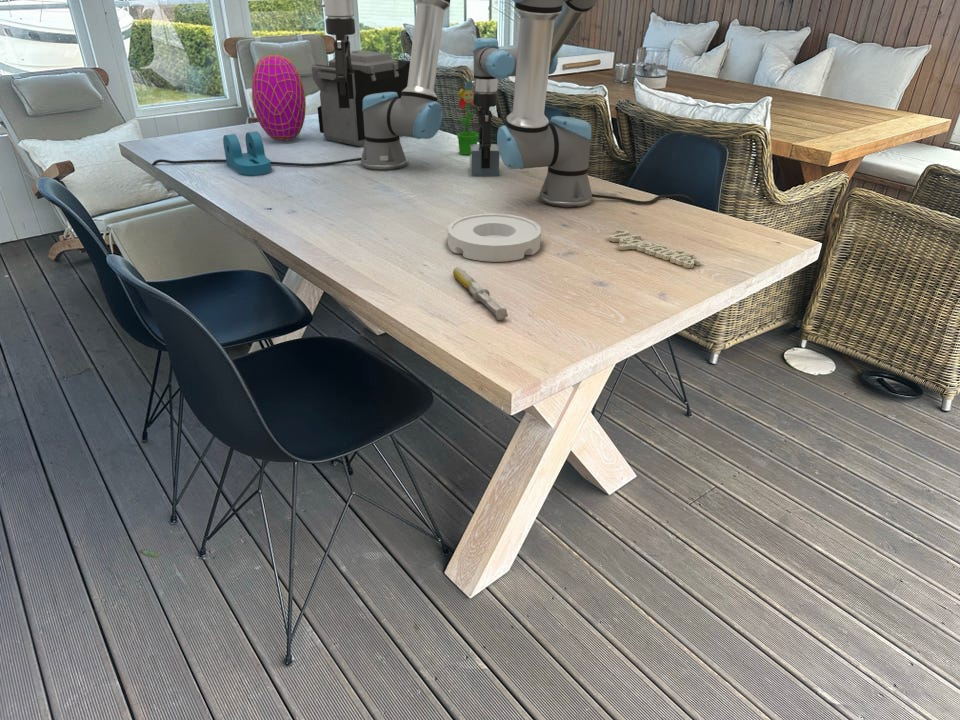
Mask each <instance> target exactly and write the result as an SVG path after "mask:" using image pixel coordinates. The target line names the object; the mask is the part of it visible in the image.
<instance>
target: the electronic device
mask: <svg viewBox="0 0 960 720" xmlns="http://www.w3.org/2000/svg"><path fill="white" fill-rule="evenodd" d="M350 56H351V64H352V69H354V73H350V74H352V80H353V93H354V99H349V104H350V108H339V99H338V88H337V82H334V78H336V66H335V57H334V58H332V59H330V60H328V65H324V64H311V75H312V79H313V81H314V83H315V85H316V87H318V89H319V91H320V92H319V100H320V106H317V117H318V127H319V133H320V134H323V137H324V139H325V140H328V141H332V142H337V143H342V144H346V145H351V146H356V147H364V145H365V132H364V119H363V111H362V109H363V98H364V97H365V96H367V95H371V94H376V93H384V92H396V93H397V94H398V98H401V94H402V91H403V90H404V89H405V88H406V87H407V84H408V76H409V67H410V60H403V59H396V58H395V59H394V58H392V56H391V54H390V53H387V52H378V51H369V50H362V49H359V50H352V51H350Z"/></svg>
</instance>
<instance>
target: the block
mask: <svg viewBox="0 0 960 720" xmlns="http://www.w3.org/2000/svg"><path fill="white" fill-rule="evenodd" d="M480 146H482V144H479V143H477V144H470V155H469V171H470V176H471V177H499V176H500V154H499V150H498V143H491V148H490V168H483V169H482V168H481V155H482V148H480Z"/></svg>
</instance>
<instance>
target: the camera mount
mask: <svg viewBox="0 0 960 720" xmlns="http://www.w3.org/2000/svg"><path fill="white" fill-rule="evenodd" d="M222 140H223V141H222V143H223V149H224V150H223V151H224V156H225V159H226V162H225V163H226V165H227V166H228V167H230V168H231V169H232V170H234V171H236V172H237V173H238V174H239V175H244V176H260V175H265V174H268V173H271V172H272V164H271V163H270V162H271V159H270V158H268V157H267V156H266V153H265V145H264V141H263V139H262V136H261V134H260V132H258V131H247V132H246V133H245V146H246V152H243V151H242V150H243V149H242V146H241V142H240V140H239V138H238V135H236V134H235V133H231V134H224V135H223V138H222Z"/></svg>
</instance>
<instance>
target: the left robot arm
mask: <svg viewBox="0 0 960 720" xmlns="http://www.w3.org/2000/svg"><path fill="white" fill-rule="evenodd" d="M412 1H413V2H414V3H415V5H416V10H415V19H414V27H413V34H412V35H413V36H412V43H411V52H410V60H409V61H410V67H409V76H408V84H407V87H406V88H405V89H404V90H403V91H402V94H401V98H398V94H397V93H396V92H384V93H376V94H371V95H367V96H365V97H364V98H363V109H362V111H363V119H364V132H365V145H364V146H363V150H362V154H361V157H356V158H355V157H354V158H348V159H341V160H336V161H327V162H314V163H312V162H311V163H310V162H309V163H305V162H304V163H301V162H284V161H282V162H281V161H270V163H271V165H276V166H292V167H321V166H322V167H323V166H324V167H325V166H332V165H339V164H345V163H353V162H360V164H361V167H363V168H365V169H368V170H372V171H389V170H391V171H392V170H396V169H397V170H398V169H401V168H403V167H405V166H407V157H406V154H405V152H404V149H403V146H402V143H401V137H404V138H405V137H406V138H412V139H413V138H414V139H417V140H422V139H423V140H430V139H432V138H433V137H435V136H436V134H438V132H439V130H440V128H441V125H442V122H443V117H444V116H443V114H444V113H443V108H442V105H441V104H440V103H439V102H438V98H439V97H438V96H437V94H436V92H435V84H436V77H437V76H436V75H437V70H438V62H439V55H440V54H439V53H440V46H441V37H442V32H443V24H444V23H443V22H444V16H445V11H446V10H448V9H449V8H450V6H451V0H412ZM321 7H322V8H324V15H325V17H326V18H325V19H324V20H325V31H326V34H327V35H330V36H335V39H334V41H333V48H334V49H333V50H334V58H335V66H336V78H334V82H337V88H338V99H339V108H350V104H349V99H354V93H353V80H352V74H350V73H354V69H352V64H351V56H350V52H351V41H350V36H351V35H352V36H353V35H355V33H356V22H355V21H356V20H355V19H354V18H353V17H354V16H355V5H354V0H323V2H321ZM349 35H350V36H349ZM159 163H167V164H172V165H173V164H174V165H176V164H177V165H179V164H181V165H182V164H196V163H197V164H199V163H200V164H201V163H227V162H226V158H225V159H224V158H223V159H222V158H221V159H219V158H218V159H215V158H214V159H189V160H169V159H162V158H161V159H160V158H159V159H156V160H154V161H153V162H152V164H151V166H156V165H157V164H159Z"/></svg>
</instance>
